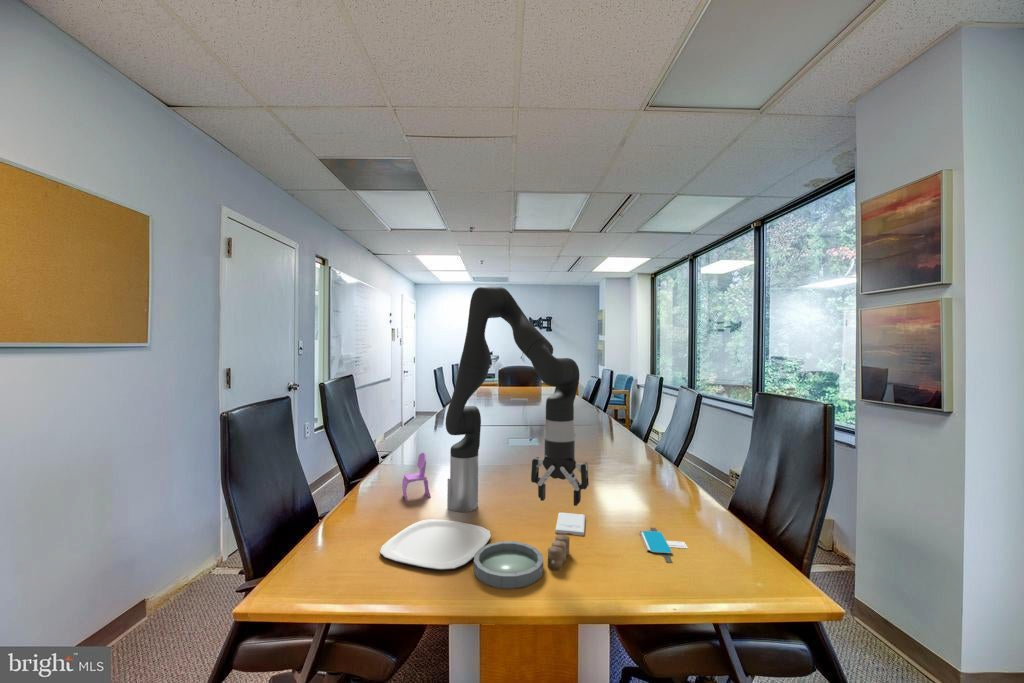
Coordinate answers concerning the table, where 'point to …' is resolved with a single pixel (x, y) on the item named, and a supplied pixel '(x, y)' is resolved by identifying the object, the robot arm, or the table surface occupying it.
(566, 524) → the external hard drive
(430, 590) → the table surface
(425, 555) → the plate
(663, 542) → the blue flat panel
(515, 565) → the round tray
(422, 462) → the toy chair
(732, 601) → the table surface
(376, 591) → the table surface
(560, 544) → the bead string
